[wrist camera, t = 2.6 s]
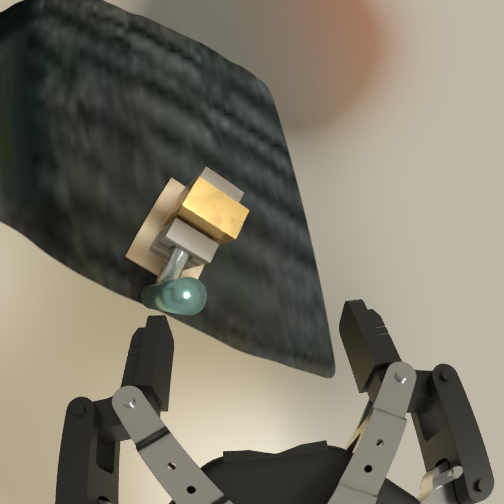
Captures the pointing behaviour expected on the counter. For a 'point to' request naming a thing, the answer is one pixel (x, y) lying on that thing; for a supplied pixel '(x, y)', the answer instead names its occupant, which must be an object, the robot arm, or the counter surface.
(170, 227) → the frame
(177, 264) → the shaft
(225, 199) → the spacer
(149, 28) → the counter surface
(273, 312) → the counter surface
